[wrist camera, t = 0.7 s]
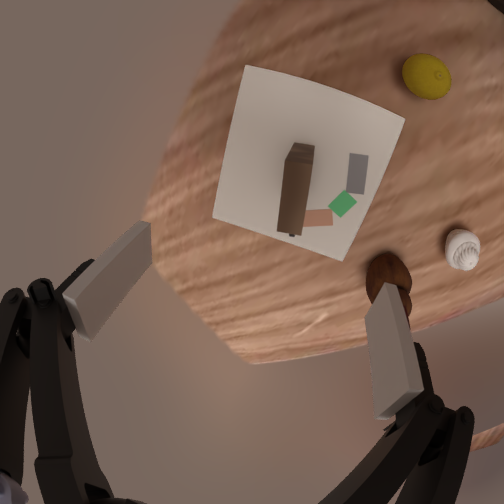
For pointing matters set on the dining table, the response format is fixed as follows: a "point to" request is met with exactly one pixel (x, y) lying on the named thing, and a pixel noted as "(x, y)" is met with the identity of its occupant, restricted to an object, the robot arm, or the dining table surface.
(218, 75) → the dining table surface
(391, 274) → the wooden figurine
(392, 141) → the dial board
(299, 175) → the dark wooden block
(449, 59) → the dining table surface
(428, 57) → the lemon
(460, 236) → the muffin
